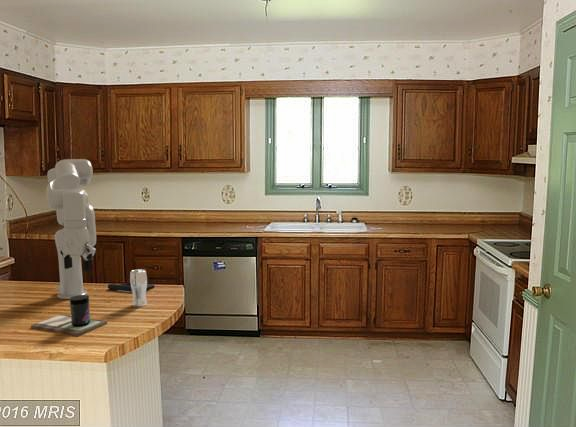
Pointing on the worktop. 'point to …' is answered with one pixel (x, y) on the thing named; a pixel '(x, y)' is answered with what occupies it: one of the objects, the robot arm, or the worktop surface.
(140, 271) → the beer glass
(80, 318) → the supplement container
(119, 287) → the door handle
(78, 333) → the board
